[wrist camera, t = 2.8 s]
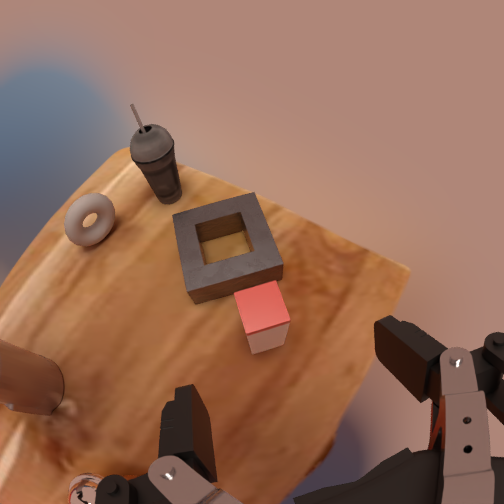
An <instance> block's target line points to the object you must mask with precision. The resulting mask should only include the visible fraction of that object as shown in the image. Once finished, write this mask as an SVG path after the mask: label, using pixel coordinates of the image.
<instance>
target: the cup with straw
mask: <svg viewBox="0 0 504 504" xmlns="http://www.w3.org/2000/svg"><path fill="white" fill-rule="evenodd" d="M122 477H124V478H125V479H126V480H127V481H128V480H130V479H133V478H136V477H137V476H135V475H125V476H122ZM103 478H105V477H103V476H101V475H98V474H95V473H83V474H80V475H78V476H77V477H75V478H74V479H73V480H72V482H71V483H70V486H69V494H68V504H95V497H96V489H97V486H98V484H99V482H100V481H101V480H102V479H103Z"/></svg>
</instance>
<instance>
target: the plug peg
mask: <svg viewBox="0 0 504 504" xmlns="http://www.w3.org/2000/svg"><path fill="white" fill-rule="evenodd" d="M234 296H235V299H236V302H237V306H238V309H239V313H240V316H241V320H242V323H243V326H244V329H245V333H246V336H247V339H248V342H249V346H250V349H251V352H252V354H256V353H259V352H262V351H265V350H269V349H272V348H275V347H278V346H281V345H284V342H285V338H286V335H287V331H288V327H289V324H290V317H289V315H288V312H287V309H286V306H285V304H284V301H283V298H282V296H281V293H280V290H279V288H278V285H277V282H276V280H275V281H272V282H268V283H265V284H262V285H258V286H255V287H252V288H248V289H245V290H241V291H238V292H235V293H234Z"/></svg>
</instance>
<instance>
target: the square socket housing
mask: <svg viewBox="0 0 504 504" xmlns="http://www.w3.org/2000/svg"><path fill="white" fill-rule="evenodd" d="M172 216H173V222H174V228H175V233H176V239H177V244H178V250H179V255H180V260H181V265H182V270H183V275H184V280H185V285H186V289H187V292H188V294H189V295H190V297H191V298H192V300H193V301H194V303H195V304H200V303H203V302H207V301H210V300H214V299H217V298H221V297H224V296H228V295H231V294H234V293H235V292H238V291H241V290H245V289H248V288H252V287H255V286H258V285H262V284H265V283H268V282H272V281H275V280H276V281H278V280H282V273H283V261H282V259H281V256H280V254H279V251H278V249H277V246H276V244H275V241H274V239H273V237H272V234H271V232H270V229H269V227H268V224H267V222H266V219H265V217H264V215H263V212H262V210H261V207H260V205H259V202H258V200H257V198H256V195H255V193H254V192H253V193H249V194H245V195H241V196H237V197H234V198H230V199H226V200H222V201H219V202H215V203H211V204H208V205H204V206H201V207H197V208H194V209H190V210H187V211H184V212H180V213H177V214H174V215H172ZM240 231H243V232H244V235H245V237H246V240H247V243H248V246H249V249H250V252H249V253H246V254H242V255H239V256H235V257H232V258H228V259H225V260H222V261H218V262H215V263H211V264H208V265H207V264H206V260H205V256H204V252H203V248H202V244H201V242H205V241H208V240H212V239H215V238H219V237H222V236H226V235H229V234H233V233H236V232H240Z"/></svg>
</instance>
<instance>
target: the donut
mask: <svg viewBox="0 0 504 504" xmlns="http://www.w3.org/2000/svg"><path fill="white" fill-rule="evenodd" d="M91 213H97V219H96V221H95V223H94V224H93V225H91V226H89V227H83V225H82V224H83V221H84V219H85V218H86V217H87V216H88V215H89V214H91ZM114 220H115V209H114V206H113V203H112V202H111V201H110V199H109V198H108V197H106V196H104V195H102V194H100V193H90V194H86V195H83V196H81V197H80V198H79V199H77V200H76V201H75V202H74V203H73V204H72V205H71V206H70V207H69V210H68V212H67V214H66V216H65V222H64V227H65V232H66V235H67V236H68V238H69V240H70V241H72V242H73V243H74V244H76V245H80V246H91V245H94V244H96V243H98V242H100V241H101V240H102V239H104V238H105V237H106V235H107V234H108V233H109V232H110V230H111V228H112V227H113V224H114Z"/></svg>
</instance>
